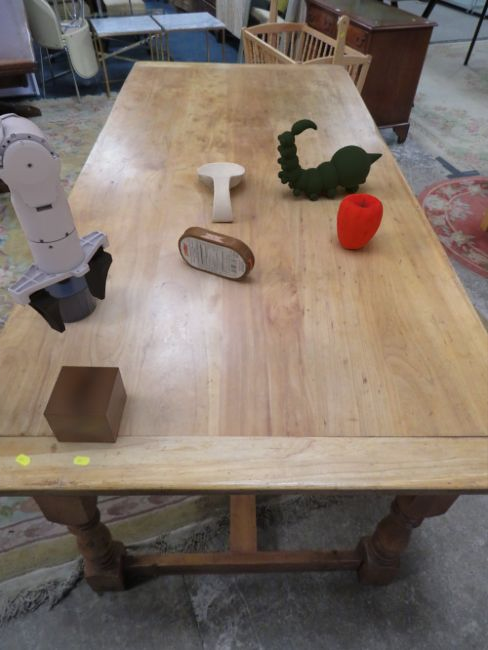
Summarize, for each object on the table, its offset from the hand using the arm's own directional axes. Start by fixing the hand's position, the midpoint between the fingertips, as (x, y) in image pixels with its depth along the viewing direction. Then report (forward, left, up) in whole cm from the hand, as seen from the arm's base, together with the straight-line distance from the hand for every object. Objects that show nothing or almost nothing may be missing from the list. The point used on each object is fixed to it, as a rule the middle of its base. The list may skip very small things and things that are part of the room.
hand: (79, 312), depth 61 cm
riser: (+3, -11, -9) cm, 15 cm away
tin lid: (-7, +11, -4) cm, 14 cm away
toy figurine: (+43, +54, -10) cm, 70 cm away
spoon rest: (+18, +51, -10) cm, 55 cm away
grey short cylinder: (-7, +11, -9) cm, 16 cm away
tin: (+18, +22, -10) cm, 30 cm away
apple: (+46, +32, -10) cm, 57 cm away
